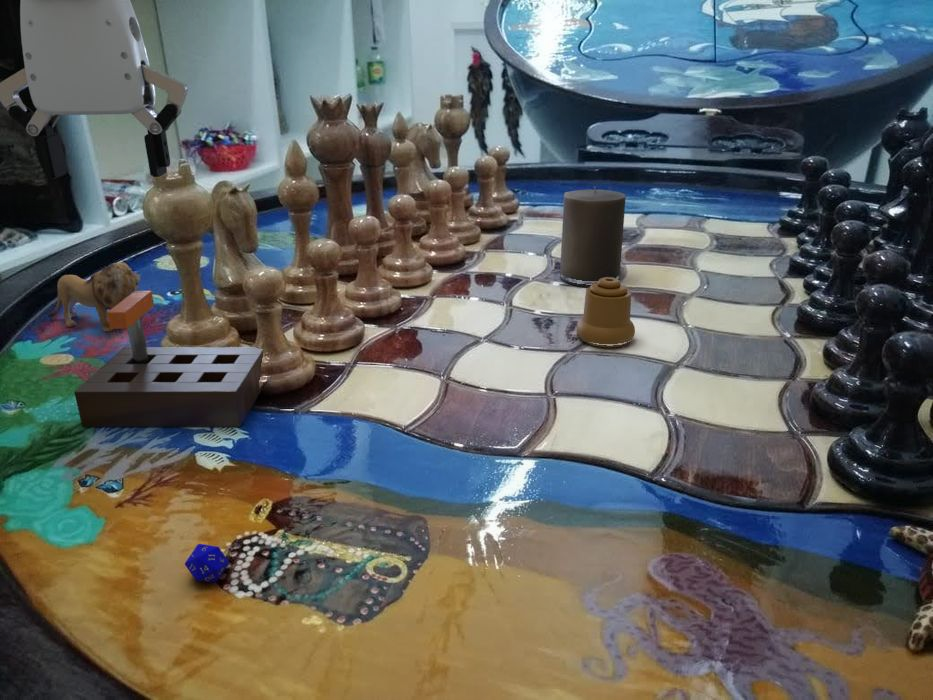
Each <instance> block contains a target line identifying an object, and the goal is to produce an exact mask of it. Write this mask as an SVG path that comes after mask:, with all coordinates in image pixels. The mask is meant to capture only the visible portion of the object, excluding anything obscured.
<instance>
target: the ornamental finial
mask: <svg viewBox="0 0 933 700" xmlns="http://www.w3.org/2000/svg"><path fill="white" fill-rule="evenodd" d="M584 297H585V298H584V307H583V314H582V315H583V316H582V317H581V318H580V319H579V320H578V322H577V324H576V333H577V336H578V335H579V336H578V337H579V339H580V340H581V341H582V342H584V343H586V344H588V345H590V346H593V347H597V348H598V347H599V348H607V349H609V348H610V349H611V348H620V347H623V346H625V345H627V344H630V342H631V341H632V340H633V339H634V337H635V334H636V327H635V325H634V322H633V321H632V319H631V311H632V310H631V307H632V291H631V290H630V289H629V288H628V287H627V285H625V284H624V283H621V280H620V279H619V280H618V279H616V278H611V277H605V278H601V279H599V281H598V282H595V283H593V284H592V285H591V287H586V290H585V296H584ZM581 338H582V339H581ZM632 338H633V339H632ZM584 340H586V341H584ZM630 340H631V341H630ZM587 341H588V342H587ZM628 341H630V342H628ZM589 342H593V343H599V344H618V343H624V342H628V343H625V344H622V345H613V346H607V345H597V344H593V343H589Z"/></svg>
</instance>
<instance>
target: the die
mask: <svg viewBox="0 0 933 700" xmlns="http://www.w3.org/2000/svg"><path fill="white" fill-rule="evenodd" d="M229 563H230V561H229V560H228V558H227V557H226V555H225V554H224V552H223V551H222V550H221V548H220V547H219V546H217V545H216V546H215V545H211V544H210V545H209V544H203V543H198V544H197V545H196V547H194V549H193V551H192V552H191V553H190V555H189V557H188V558H187V559H186V561H185V562H184V566H185V567H186V568H187V570H188V571H189V573H190V575H192V577H193V579H194V580H195V581H200V582H205V583H206V582H207V583H215V584H216V583H217V581H218V580H219V579H220V577H221V576H222V574H223V573H224V571H225V570H226V568H227V567H228V565H229Z"/></svg>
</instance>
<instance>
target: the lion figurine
mask: <svg viewBox="0 0 933 700" xmlns="http://www.w3.org/2000/svg"><path fill="white" fill-rule="evenodd" d="M140 282H141V275H140V274H139V273H136V272H134V271H133V270H132V268H131V267H129V265H128V264H127V263H126V262H121V261H119V262H114V263H111V264H110V265H108V266H106V267H104V268H102V269H101V270H100V271H98V272H94V273H93V274H92V275H91V276H90V278H89V279H83V278H81V277H79V275H76V274H64V275H62V276H61V277H60V278H59V279H58V281H57V286H56V288H57V289H56V290H57V303H56V305H55V308H54V310H52V311H50V312H49V313H48V314H46V317H47V318H54V317H55V316H56V315H58V313H59V310H60V308H61V306H62V309H63V311H62V316H63V317H64V318H63V319H64V321H65V325H66V327H67V328H72V327H75V326H76V325H77V323H76V321H75V320H72V318H76V317H77V316H78V313H77V312H76V311H74V310H73V308H74V306H75V305H77V303H78V304H80V305H82V306H84V307H86V308H94V309H95V311H96V312H97V315H98V318H99V321H100V326H101V328H102V331H103V333H110V332H113V331H114V329H110V326H109V321H108V316H107V312H108V311H109V310H111V309H112V308H113V307H115V306H116V305H117V304H119V303H120V302H121V301H122V300H124V299H125V298H126V297H128V296H129V295H130V294H132V293H133V292H134V291H137V289H138V288H139V283H140Z"/></svg>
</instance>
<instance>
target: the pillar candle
mask: <svg viewBox="0 0 933 700" xmlns="http://www.w3.org/2000/svg"><path fill="white" fill-rule="evenodd" d="M626 197H627V196H626V194H624V193H622V192H619V191H617V190H616V191H615V190H609V189H608V190H606V189H597V187H596V186H595V185H594V186H593V189H578V190H571V191H566V192H564V194H563V206H562V207H563V208H562V209H563V210H562V229H561V230H562V231H561V246H560V263H559V270H560V271H559V273H560V272H561V274H562V275H564V276H566V277H569V278H571V279H576V280H582V281H599V279H601V278H605V277H611V278H616V277H617V276H619V274H620V275H621V266H622V265H621V264H622V254H623V253H622V252H623V241H624V240H623V238H624V237H623V236H624V225H625V224H624V223H625V213H626V212H625V211H626V199H627V198H626ZM559 277H560V280H561V281H563V282H565V283H568V284H570V285H573V286H576V287H581V288H582V287H583V288H589V287H591V285H586V284H577V283H572V282H568V281H566V280H564V279H563V278H562V277H561V276H560V275H559Z"/></svg>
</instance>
